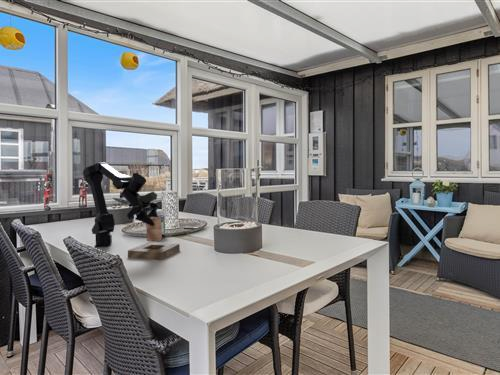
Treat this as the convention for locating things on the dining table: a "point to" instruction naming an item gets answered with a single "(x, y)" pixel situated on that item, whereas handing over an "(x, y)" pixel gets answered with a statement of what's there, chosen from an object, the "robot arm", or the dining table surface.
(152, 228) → the terracotta peg
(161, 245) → the walnut hole board
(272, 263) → the dining table surface
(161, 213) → the syrup box
